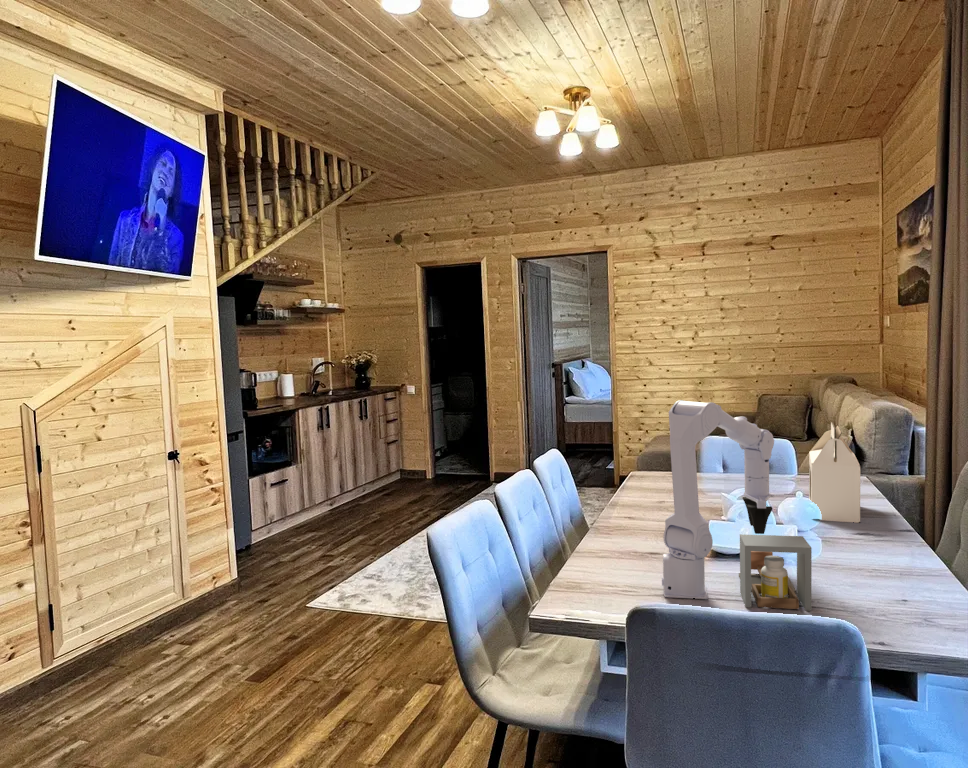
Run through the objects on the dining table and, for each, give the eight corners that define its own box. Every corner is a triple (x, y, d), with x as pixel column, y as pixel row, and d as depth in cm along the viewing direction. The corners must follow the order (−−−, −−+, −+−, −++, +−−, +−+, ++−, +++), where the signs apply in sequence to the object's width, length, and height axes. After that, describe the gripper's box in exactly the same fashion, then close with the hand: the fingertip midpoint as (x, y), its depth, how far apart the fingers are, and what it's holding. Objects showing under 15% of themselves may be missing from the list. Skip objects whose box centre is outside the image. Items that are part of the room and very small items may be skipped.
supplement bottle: (780, 596, 153) (780, 553, 152) (792, 606, 147) (792, 562, 147) (757, 597, 153) (756, 554, 152) (767, 607, 147) (767, 563, 147)
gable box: (860, 523, 205) (860, 431, 202) (811, 520, 210) (811, 429, 208) (853, 505, 225) (854, 420, 223) (809, 502, 230) (809, 420, 228)
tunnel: (745, 607, 148) (744, 545, 147) (740, 593, 155) (739, 534, 154) (811, 610, 145) (811, 547, 144) (802, 596, 152) (802, 536, 151)
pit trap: (744, 591, 156) (744, 588, 156) (738, 576, 166) (738, 573, 166) (796, 594, 154) (796, 590, 154) (787, 578, 163) (787, 575, 163)
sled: (757, 606, 147) (757, 582, 147) (742, 570, 168) (742, 549, 168) (798, 609, 145) (798, 584, 145) (778, 572, 167) (778, 550, 166)
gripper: (779, 482, 163) (779, 538, 164) (768, 470, 177) (768, 521, 178) (748, 482, 164) (748, 537, 165) (739, 469, 178) (740, 520, 179)
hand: (757, 529), depth 172 cm, fingers open, 6 cm apart
